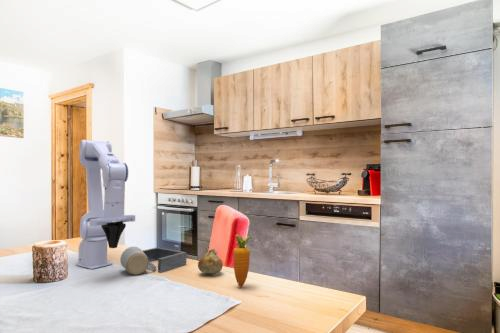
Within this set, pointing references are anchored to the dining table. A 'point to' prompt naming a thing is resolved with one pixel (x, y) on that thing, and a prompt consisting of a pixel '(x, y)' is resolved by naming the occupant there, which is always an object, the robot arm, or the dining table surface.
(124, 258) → the ceramic mug
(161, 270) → the grey u-shaped piece
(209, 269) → the onion
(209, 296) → the dining table surface
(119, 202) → the robot arm
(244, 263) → the carrot
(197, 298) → the dining table surface
